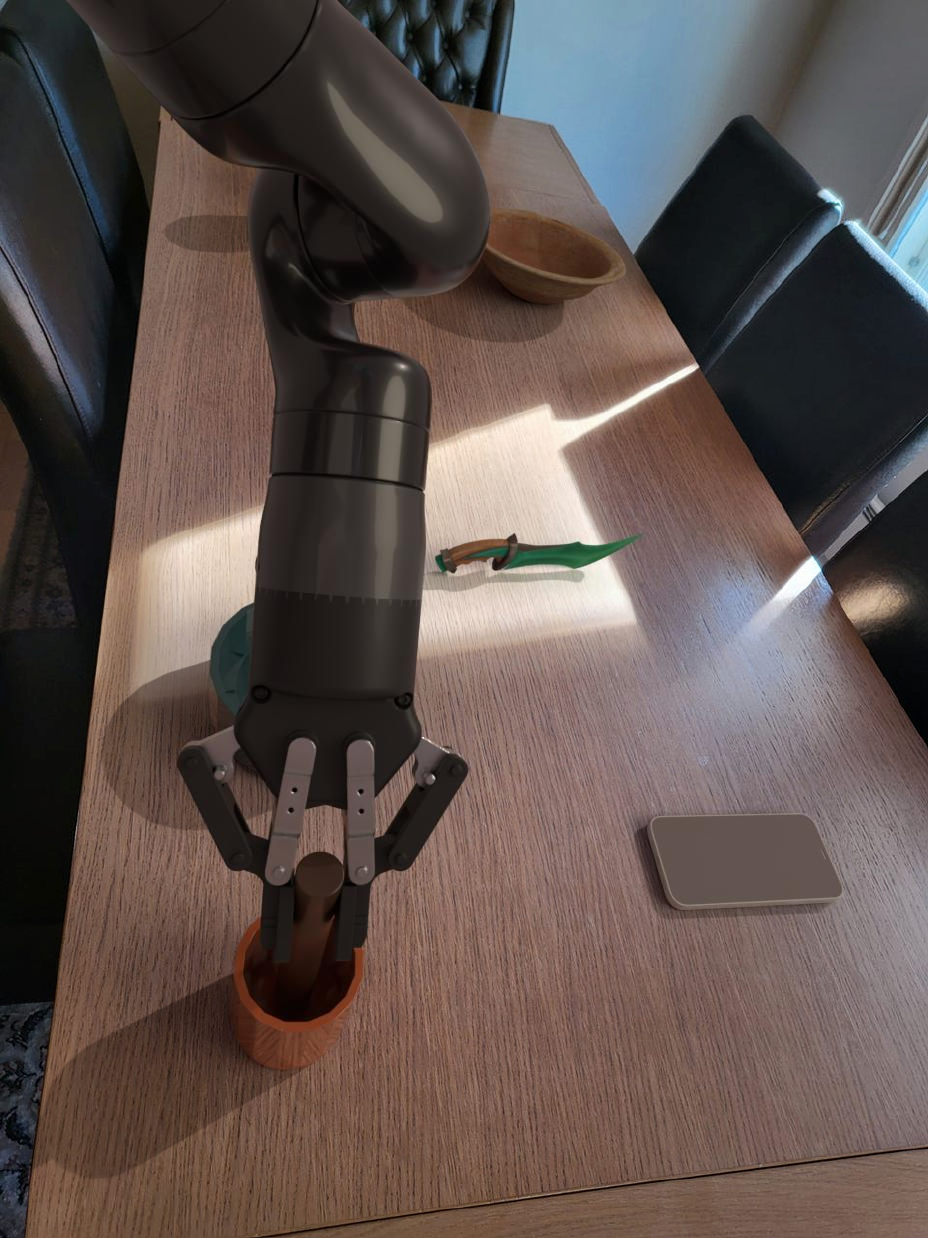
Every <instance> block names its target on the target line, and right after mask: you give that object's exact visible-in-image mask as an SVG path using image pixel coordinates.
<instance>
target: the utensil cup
mask: <svg viewBox="0 0 928 1238" xmlns="http://www.w3.org/2000/svg"><path fill="white" fill-rule="evenodd" d="M260 920H261V915H260V916H259V917H258V918H257V919H256V920H254V921H253V922H252V923H251V924H250V925H248V927H247V929H246V930H245V932H244V933H243V934H244V935H243V936H242V938H241V940H240V941H239V943H238V945H237V947H236V950H235V957H234V967H233V972H232V973H233V974H232V989H231V1004H230V1019H231V1026H232V1030H233V1033H234V1036H235V1038H236V1040H237V1042H238V1044H239V1046H240V1047H241V1049H242V1050H243V1052H245V1054H246V1055H248V1057H249V1058H251V1059H252V1060H253V1061H254V1062H256V1063H258V1064H260V1065H262V1066H263V1067H266V1068H268V1069H269V1068H270V1069H274V1070H278V1071H291V1070H297V1069H301V1068H303V1067H306V1066H309V1065H312V1064H313V1063H315V1062H316V1061H318V1060H319V1059H321V1058H322V1057H323V1056H324V1055H326V1053H328V1052H329V1050H331V1048H332V1047H333V1046H334V1045H335V1043H336V1042H337V1041H338V1040H339V1038H340V1036H341V1033H342V1030H343V1028H344V1025H345V1023H346V1021H347V1019H348V1016H349V1014H350V1011H351V1009H352V1007H353V1004H354V1001H355V999H356V996H357V994H358V992H359V989H360V987H361V984H362V982H363V979H364V971H365V969H364V968H365V967H364V966H365V965H364V963H365V960H364V959H365V953H364V949H363V948H364V947H362V948H352V955H351V960H350V961H335V957H334V951H333V927H334V917H333V921H332V924H331V928H330V932H329V935H328V939H327V942H326V946H325V949H324V953H323V956H322V960H321V963H320V967H319V971H318V974H317V978H316V981H315V985H314V988H313V992H312V995H311V999H310V1003H309V1005H308V1007H307V1009H306V1010H305V1011H304V1012H303V1013H302V1014H301V1015H299V1016H296V1017H291V1018H290V1017H285V1016H282V1015H281V1014H279V1013H278V1012H277V1010H276V1009H275V1006H274V1002H273V997H274V991H275V985H276V980H277V974H278V968H279V963H274V950H263V947H262V944H261V941H260Z"/></svg>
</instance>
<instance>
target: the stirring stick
mask: <svg viewBox="0 0 928 1238" xmlns="http://www.w3.org/2000/svg"><path fill="white" fill-rule="evenodd" d="M294 876H295V877H294V886H295V898H294V912H293V925H292V938H291V952H290V962H284V963H279V968H278V974H277V980H276V985H275V991H274V997H273V1002H274V1006H275V1009H276V1010H277V1012H278V1013H279V1014H281V1015H282V1016H285V1017H290V1018H291V1017H296V1016H299V1015H301V1014H302V1013H303V1012H304V1011H305V1010H306V1009H307V1007H308V1005H309V1003H310V999H311V995H312V992H313V988H314V985H315V981H316V978H317V974H318V971H319V967H320V963H321V960H322V956H323V953H324V949H325V946H326V942H327V939H328V935H329V932H330V928H331V924H332V921H333V917H334V914H335V910H336V907H337V903H338V900H339V896H340V892H341V889H342V885H343V882H344V877H345V872H344V868H343V862H341V860H340V859H339V858H338V857H337V856H335V854H333V853H331V852H327V851H322V850H321V851H313V852H310V853H307V855H305V856H303V858H301V859H300V861H299V862H298V863H297V866H296V867H295V871H294Z"/></svg>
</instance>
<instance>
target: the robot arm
mask: <svg viewBox="0 0 928 1238" xmlns="http://www.w3.org/2000/svg"><path fill="white" fill-rule="evenodd" d="M65 1H66V2H67V3H68V5H69V6H70V7H71V8H72V9H73V10H74V11H75V13H76V14H77V15H78V16H79V17H80V18H81V19H82V20H83V21H84V23H85V24H86V25H87V26H88V27H89V28H90V29H91V30H92V32H94V34H95V35H96V36H97V38H99V39H100V40H101V41H102V43H104V45H105V46H106V47H107V49H109V50H110V51H111V52H112V54H113V55H114V56H115V57H116V58H117V59H118V60H119V61H120V62H121V63H122V65H124V67H125V68H126V69H127V70H128V71H129V72H130V74H132V76H134V78H135V79H136V80H137V81H138V83H140V84H141V86H143V88H144V89H145V90H146V91H147V92H148V93H149V94H150V95H151V97H152V98H154V100H155V101H156V102H157V103H158V104H159V105H160V106H161V107H162V108H163V109H164V110H165V112H167V114H168V115H169V116H170V117H171V118H172V119H173V121H175V122H176V124H177V125H178V126H179V127H181V129H182V130H183V131H184V132H185V133H186V134H187V135H188V136H189V137H190V138H191V139H192V140H193V141H194V142H195V143H196V144H198V145H199V146H200V147H201V148H202V149H204V150H205V151H206V152H207V153H209V154H211V155H212V156H214V157H215V158H217V159H219V160H221V161H223V162H225V163H228V164H230V165H231V164H232V165H236V166H239V167H243V168H251V169H257V171H256V174H255V177H254V179H253V181H252V183H251V188H250V192H249V196H248V202H247V209H246V228H247V229H246V232H247V238H248V239H247V240H248V245H249V246H248V247H249V252H250V258H251V263H252V268H253V274H254V278H255V283H256V289H257V294H258V299H259V304H260V309H261V315H262V322H263V327H264V334H265V339H266V344H267V349H268V354H269V359H270V364H271V365H270V366H271V371H272V377H273V382H274V390H275V391H274V404H273V412H272V416H273V417H272V422H271V437H270V438H271V439H270V450H269V451H270V452H269V466H268V467H269V468H268V475H269V478H268V480H267V490H266V495H265V500H264V504H263V509H262V513H261V517H260V522H259V523H260V524H259V531H258V539H257V540H258V541H257V555H256V557H255V561H254V570H255V582H254V597H253V602H254V609H253V624H252V638H251V652H250V667H249V681H248V694H247V697H246V699H245V701H244V703H243V705H242V706H241V708H240V709H239V711H238V712H237V714H236V717H235V722H234V725H233V726H231V727H229V728H227V729H225V730H222V731H220V732H218V733H216V732H215V733H214V734H212V735H210V736H207V737H205V738H203V737H200V736H193V737H190V738H189V739H187V740H186V741H185V742H184V744H183V745H182V748H181V750H180V752H179V755H178V757H177V759H176V767H177V769H178V771H179V773H180V775H181V778H182V779H183V781H184V784H185V785H186V788H187V790H188V793H190V795H191V798H192V800H193V802H194V805H195V806H196V809H197V810H198V812H199V815H200V816H201V818H202V820H203V822H204V824H205V826H206V829H207V830H208V832H209V834H210V836H211V838H212V840H213V842H214V844H215V847H216V849H217V850H218V853H219V854H220V856H221V859H222V860H223V863H224V865H225V866H226V868H228V869H229V870H230V871H232V872H242V871H245V872H248V873H250V874H253V875H255V876H257V877H258V878H259V879H260V881H261V882H262V895H261V908H260V916H261V920H260V941H261V944H262V947H263V950H274V963H284V962H290V952H291V938H292V925H293V912H294V898H295V886H294V877H295V868H294V867H295V861H296V855H297V851H298V845H299V839H300V836H301V833H302V828H303V825H304V824H303V823H304V818H305V812H306V810H310V809H314V808H318V807H322V806H328V807H331V808H335V809H338V810H341V816H342V817H341V818H342V833H343V834H342V835H343V837H342V838H343V859H342V865H343V868H344V872H345V877H344V882H343V885H342V889H341V892H340V896H339V900H338V903H337V907H336V910H335V914H334V927H333V951H334V957H335V961H350V960H351V955H352V948H363V946H364V944H365V942H366V940H367V937H368V928H369V927H368V925H369V913H370V903H371V902H370V900H371V890H372V884H373V882H374V881H375V880H376V878H377V877H379V876H380V875H382V874H384V873H387V872H390V871H393V870H394V871H396V872H400V873H401V872H405V871H407V870H409V869H410V868H411V867H412V866H413V864H414V862H415V861H416V859H417V857H418V856H419V855H420V852H421V851H422V850H423V848H424V846H425V845H426V844H427V841H428V840H429V838H430V837H431V835H432V834H433V832H434V830H435V828H436V827H437V825H438V824H439V822H440V820H441V819H442V817H443V815H444V814H445V812H446V811H447V809H448V807H449V806H450V804H451V803H452V801H453V799H454V798H455V797H456V794H457V793H458V791H459V789H460V788H461V786H462V785H463V783H464V782H465V780H466V778H467V777H468V774H469V766H468V763H467V761H466V760H465V759H464V758H463V756H462V755H461V754H460V753H459V752H458V751H457V750H455V749H454V748H453V747H451V746H450V745H441V744H440V743H438V742H436V741H434V740H432V739H431V738H429V737H428V736H426V735H424V734H423V729H422V728H423V727H422V724H421V721H420V719H419V717H418V715H417V711H416V709H415V688H416V678H417V677H416V675H417V662H418V650H419V638H420V627H421V617H422V603H423V592H424V591H423V590H424V578H425V568H426V567H425V566H426V555H427V524H426V505H425V504H426V494H425V491H426V489H427V488H426V487H427V485H426V484H427V475H428V463H429V462H428V461H429V449H430V438H431V437H430V436H431V434H430V433H431V424H432V412H433V387H432V381H431V378H430V375H429V374H428V371H427V369H426V368H425V367H424V366H423V365H422V363H420V362H419V361H418V360H416V359H415V358H413V357H412V356H411V355H410V356H409V355H407V354H406V353H403V352H401V351H399V350H395V349H392V348H389V347H386V346H382V345H378V344H373V343H369V342H364V341H361V339H360V337H359V334H358V330H357V326H356V321H355V310H356V303H357V302H368V301H369V302H370V301H381V300H383V301H384V300H393V299H409V298H410V299H411V298H422V297H423V298H424V297H431V296H435V295H439V294H442V293H447V292H449V291H451V290H453V289H455V288H457V287H459V286H460V285H462V284H463V283H464V282H465V281H466V280H467V279H468V278H469V277H470V276H471V275H472V274H473V272H474V271H475V270H476V268H477V267H478V265H479V263H480V261H481V259H482V258H483V257H482V255H483V253H484V251H485V248H486V244H487V240H488V234H489V228H490V209H491V204H490V195H489V190H488V186H487V185H488V184H487V182H486V178H485V175H484V172H483V169H482V166H481V164H480V161H479V159H478V156H477V154H476V151H475V150H474V148H473V146H472V144H471V142H470V140H469V138H468V137H467V135H466V134H465V132H464V131H463V129H462V128H461V126H460V125H459V123H458V122H457V121H456V119H455V118H454V116H453V115H452V114H451V113H450V111H449V110H448V109H447V108H446V107H445V105H444V104H442V102H441V101H440V100H439V98H437V96H435V95H434V94H433V93H432V92H431V91H430V90H429V88H427V87H426V86H425V85H424V84H423V82H421V81H420V79H418V77H416V75H414V74H413V73H412V72H411V71H410V69H409V68H407V67H406V65H404V64H403V63H402V62H401V61H400V60H399V59H398V58H397V57H396V56H395V55H394V54H393V53H392V52H391V51H390V50H389V49H388V48H387V47H386V46H385V44H383V43H382V41H380V40H379V39H378V37H377V36H376V35H375V34H374V33H373V32H372V31H371V30H369V29H368V28H367V27H366V26H365V25H364V24H363V23H362V22H361V21H360V20H358V19H357V18H356V17H355V16H354V15H353V14H352V13H351V12H350V11H349V10H347V8H345V7H344V6H343V5H342V4H341V2H339V0H65ZM240 748H241V749H242V750H243V752H244V753H245V755H246V756H247V758H248V759H249V761H250V762H251V764H252V765H253V767H254V768H255V770H256V771H257V772H258V773H257V774H258V776H259V777H260V779H261V780H262V782H263V783H264V784H265V786H266V787H267V789H268V790H269V792H270V793H271V795H273V797H274V799H273V802H272V810H271V818H270V825H269V830H268V833H267V834H268V835H267V838H264V837H261V836H260V835H257V834H254V833H253V832H252V830H251V828H250V826H249V824H248V822H247V820H246V818H245V816H244V814H243V812H242V810H241V808H240V806H239V804H238V802H237V800H236V798H235V797H236V796H234V793H233V791H232V789H231V787H230V785H229V783H228V782H229V781H231V779H232V778H233V777H234V774H235V769H236V761H235V759H234V758H233V756H234V754H235V752H236V751H237V750H238V749H240ZM412 755H413V756H414V763H413V765H412V768H411V776H412V778H413V780H414V781H415V784H413V786H412V788H411V790H410V791H409V793H408V795H407V797H405V800H404V801H403V803H402V804H401V805H400V807H399V809H398V811H397V813H396V814H395V816H394V817H393V819H392V821H391V822H390V824H389V825H388V827H387V828H386V830H385V832H384V833H383V835H380V836H377V837H375V835H376V806H375V805H376V803H375V799H376V798H377V797H378V796H379V795H380V793H381V792H382V791H384V789H385V787H386V786H388V784H389V783H390V781H391V780H392V779H393V778H394V777H395V775H397V773H398V772H399V771H400V769H402V767H403V766H404V765H405V763H406V762H407V761H408V760H409V759H410V758H411V756H412Z"/></svg>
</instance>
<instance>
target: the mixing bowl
mask: <svg viewBox="0 0 928 1238" xmlns="http://www.w3.org/2000/svg"><path fill="white" fill-rule="evenodd" d="M253 609H254V601H253V602H251V603H250V604H247V605H245V606H243V607H241V608H239V610H237V612H236V613H234V614H233V615H232V616H231V617H230V618H229V619H228V620H227V621H226V622H224V624H222V626H221V628H220V629H219V632H218V634H217V635H216V637H215V639H214V641H213V643H212V645H211V647H210V657H209V673H208V675H209V676H208V677H209V678H208V679H209V681H208V682H209V683H208V685H209V687H208V689H209V690H208V691H209V692H208V693H209V696H208V697H209V700H208V701H209V704H208V707H209V708H208V709H209V710H208V711H209V712H208V713H209V717H210V721H211V723H212V727H213V729H214V733H215V734H216V733H218V732H220V731H222V730H225V729H227V728H229V727H231V726H233V725H234V722H235V717H236V714H237V712H238V711H239V709H240V708H241V706H242V705H243V703H244V701H245V699H246V697H247V694H248V681H249V667H250V652H251V638H252V624H253ZM233 759H234V760H235V761H237V762H239V763H240V764H242V765H243V766H245V767H247V768H248V769H250V770H251V771H252V772H255V773H256V774H258V772H257V771H256V770H255V768H254V767H253V765H252V764H251V762H250V761H249V759H248V758H247V756H246V755H245V753H244V752H243V750H242V749H241V748H240V749H238V750H237V751H236V752H235V754H234V756H233Z"/></svg>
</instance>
